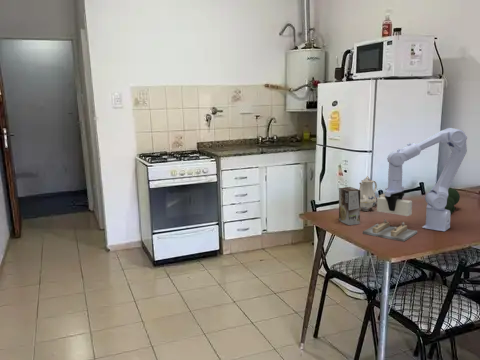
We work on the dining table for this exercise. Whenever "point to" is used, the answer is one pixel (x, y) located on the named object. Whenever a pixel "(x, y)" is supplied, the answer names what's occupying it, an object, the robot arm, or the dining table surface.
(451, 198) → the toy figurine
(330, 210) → the dining table surface
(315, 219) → the dining table surface
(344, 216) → the coffee box
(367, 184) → the chinaware
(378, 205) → the clay bar
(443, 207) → the robot arm
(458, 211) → the dining table surface
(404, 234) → the grey peg board
